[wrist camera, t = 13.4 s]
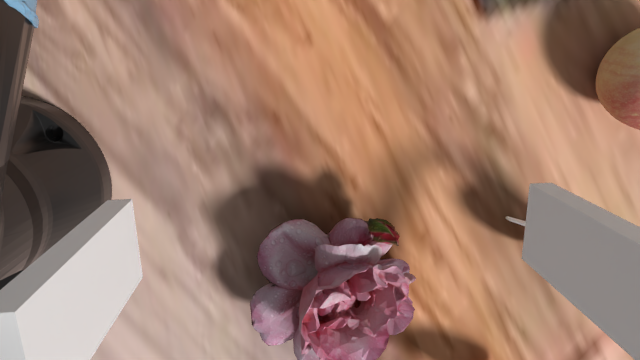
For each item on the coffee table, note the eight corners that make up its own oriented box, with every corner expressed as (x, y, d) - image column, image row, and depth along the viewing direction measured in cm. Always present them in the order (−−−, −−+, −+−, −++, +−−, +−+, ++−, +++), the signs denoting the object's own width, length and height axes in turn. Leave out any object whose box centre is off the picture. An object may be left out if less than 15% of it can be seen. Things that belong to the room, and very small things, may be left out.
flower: (239, 353, 44) (267, 420, 35) (252, 200, 42) (284, 228, 33) (378, 339, 49) (433, 393, 40) (394, 204, 47) (456, 228, 38)
